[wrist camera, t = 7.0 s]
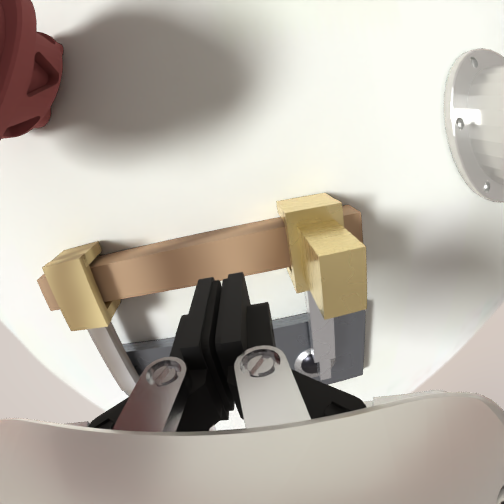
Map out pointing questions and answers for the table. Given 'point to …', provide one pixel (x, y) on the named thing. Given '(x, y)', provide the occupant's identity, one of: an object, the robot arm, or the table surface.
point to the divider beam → (158, 276)
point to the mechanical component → (26, 70)
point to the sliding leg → (324, 268)
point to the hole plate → (286, 347)
